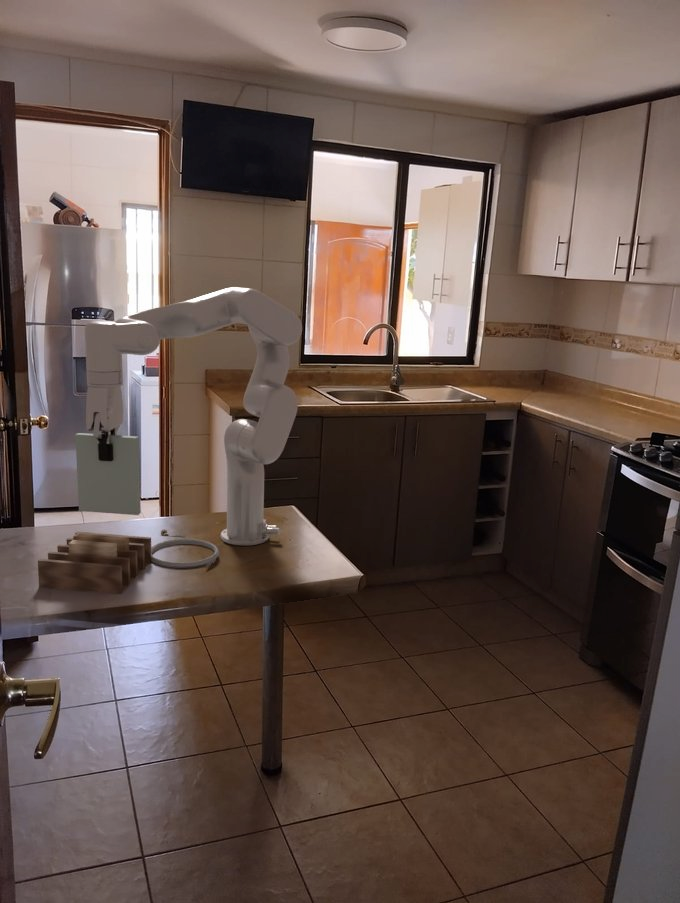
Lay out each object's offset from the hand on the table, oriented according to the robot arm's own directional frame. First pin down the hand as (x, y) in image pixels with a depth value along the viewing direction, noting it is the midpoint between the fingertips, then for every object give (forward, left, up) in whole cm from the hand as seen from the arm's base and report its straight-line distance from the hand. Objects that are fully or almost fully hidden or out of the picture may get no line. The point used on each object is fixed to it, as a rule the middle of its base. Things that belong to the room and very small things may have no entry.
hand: (108, 459), depth 167 cm
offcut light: (0, +9, -25) cm, 26 cm away
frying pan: (-12, -13, -27) cm, 32 cm away
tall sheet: (0, 0, -13) cm, 13 cm away
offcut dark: (0, +5, -25) cm, 25 cm away
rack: (0, +7, -26) cm, 27 cm away
